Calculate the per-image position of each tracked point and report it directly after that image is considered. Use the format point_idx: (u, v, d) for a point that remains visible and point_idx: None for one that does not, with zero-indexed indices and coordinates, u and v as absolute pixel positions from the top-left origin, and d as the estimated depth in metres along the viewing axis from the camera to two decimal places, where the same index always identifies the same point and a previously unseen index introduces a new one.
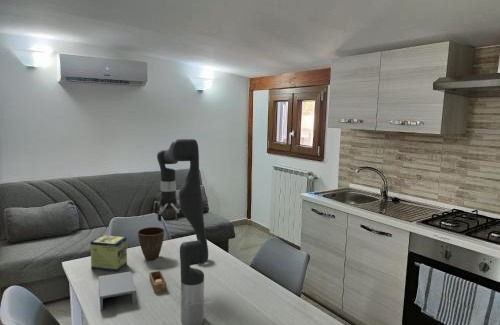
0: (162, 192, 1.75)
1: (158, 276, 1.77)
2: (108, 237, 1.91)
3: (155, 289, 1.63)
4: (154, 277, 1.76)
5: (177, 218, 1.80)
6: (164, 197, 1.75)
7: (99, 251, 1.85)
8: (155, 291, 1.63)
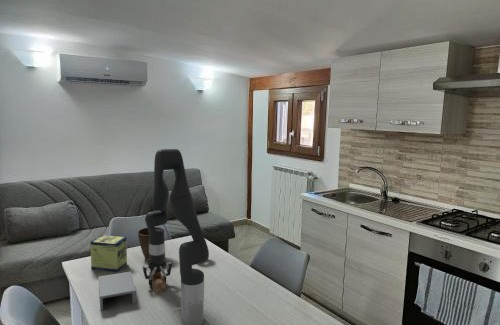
0: (150, 255, 1.66)
1: (158, 276, 1.77)
2: (108, 237, 1.91)
3: (155, 289, 1.63)
4: (154, 277, 1.76)
5: None
6: (152, 260, 1.65)
7: (99, 251, 1.85)
8: (155, 291, 1.63)
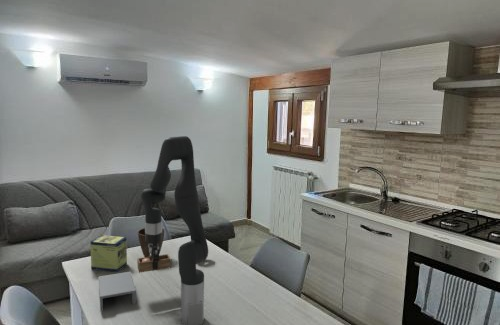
0: None
1: None
2: (108, 237, 1.91)
3: (137, 263, 1.61)
4: None
5: None
6: None
7: (99, 251, 1.85)
8: None
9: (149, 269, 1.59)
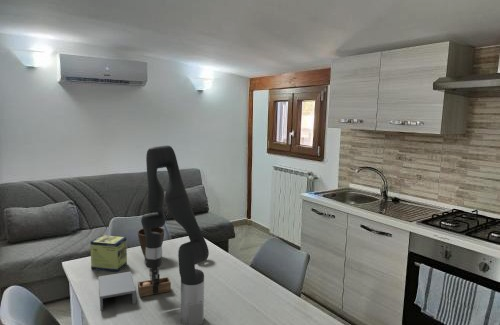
0: None
1: None
2: (108, 237, 1.91)
3: (138, 287, 1.63)
4: None
5: (153, 291, 1.61)
6: None
7: (99, 251, 1.85)
8: (138, 289, 1.63)
9: (149, 293, 1.60)
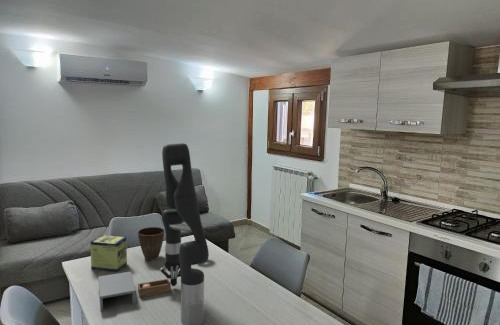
0: (167, 255, 1.63)
1: None
2: (108, 237, 1.91)
3: (138, 289, 1.63)
4: None
5: (175, 284, 1.67)
6: (168, 260, 1.62)
7: (99, 251, 1.85)
8: (138, 291, 1.63)
9: (149, 295, 1.61)
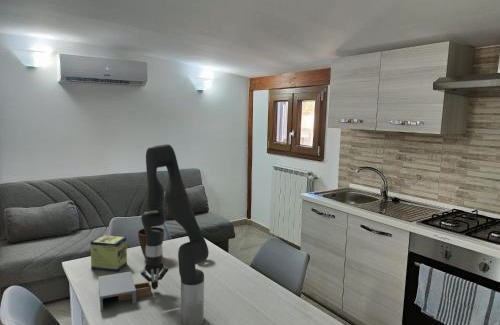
0: (147, 257, 1.59)
1: None
2: (108, 237, 1.91)
3: None
4: None
5: (156, 287, 1.63)
6: (149, 262, 1.59)
7: (99, 251, 1.85)
8: None
9: (129, 298, 1.57)
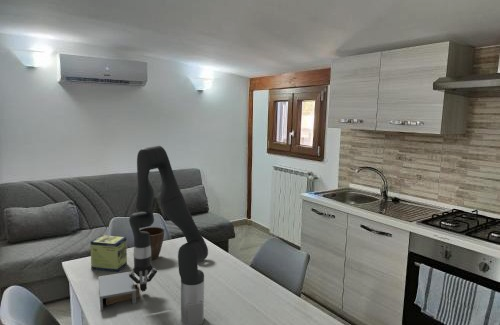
0: (135, 259, 1.57)
1: None
2: (108, 237, 1.91)
3: None
4: None
5: (144, 289, 1.61)
6: (137, 264, 1.57)
7: (99, 251, 1.85)
8: None
9: (117, 301, 1.55)
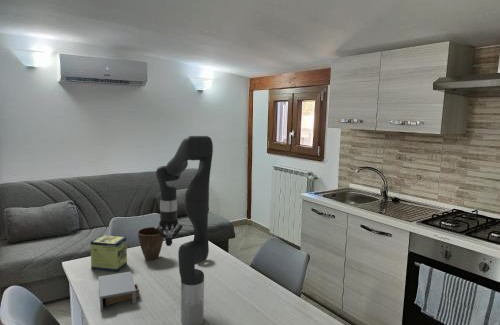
0: (162, 212, 1.57)
1: None
2: (108, 237, 1.91)
3: None
4: None
5: (170, 244, 1.61)
6: (163, 217, 1.57)
7: (99, 251, 1.85)
8: None
9: (116, 301, 1.55)
